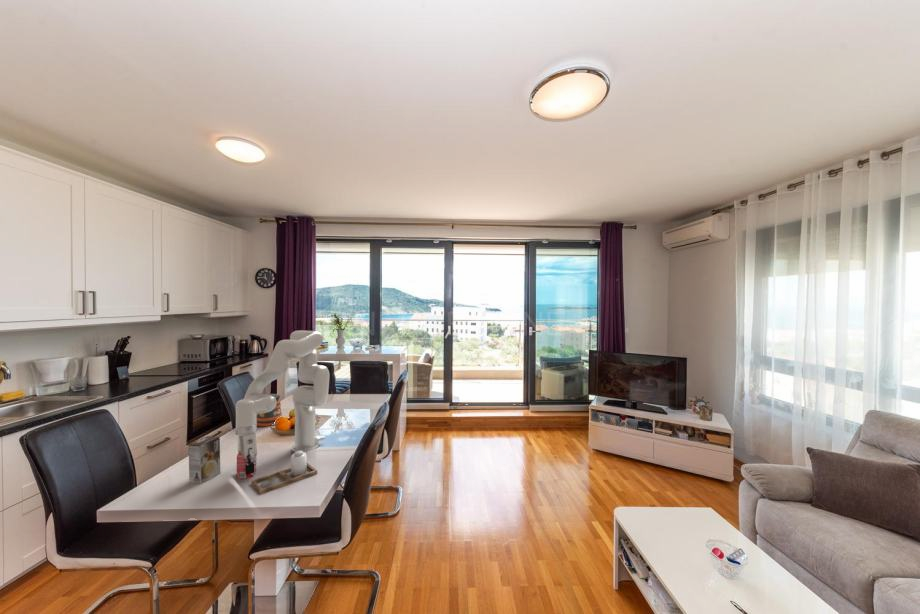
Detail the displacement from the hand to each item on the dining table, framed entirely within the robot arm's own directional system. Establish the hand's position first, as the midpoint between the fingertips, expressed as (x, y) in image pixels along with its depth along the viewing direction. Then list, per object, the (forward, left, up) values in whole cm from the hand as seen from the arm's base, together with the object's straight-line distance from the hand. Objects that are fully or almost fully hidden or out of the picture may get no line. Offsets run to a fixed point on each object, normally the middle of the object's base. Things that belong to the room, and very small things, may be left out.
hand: (246, 469), depth 147 cm
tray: (-10, +15, -4) cm, 18 cm away
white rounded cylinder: (-16, +15, -2) cm, 22 cm away
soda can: (0, 0, -4) cm, 4 cm away
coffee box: (+12, -13, -4) cm, 18 cm away
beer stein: (-29, -68, -4) cm, 74 cm away
